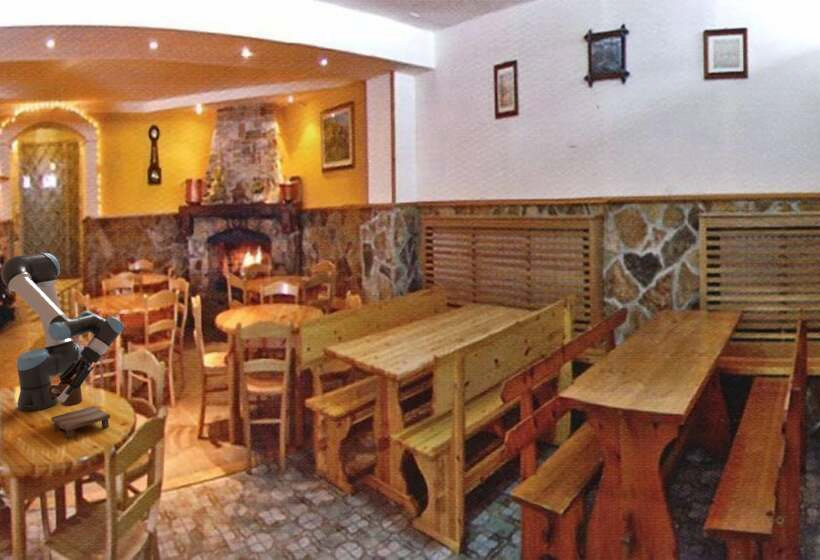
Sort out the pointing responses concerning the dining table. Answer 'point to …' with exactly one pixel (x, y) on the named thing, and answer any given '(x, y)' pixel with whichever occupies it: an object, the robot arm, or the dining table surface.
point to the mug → (72, 398)
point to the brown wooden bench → (80, 419)
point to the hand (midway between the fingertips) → (56, 398)
